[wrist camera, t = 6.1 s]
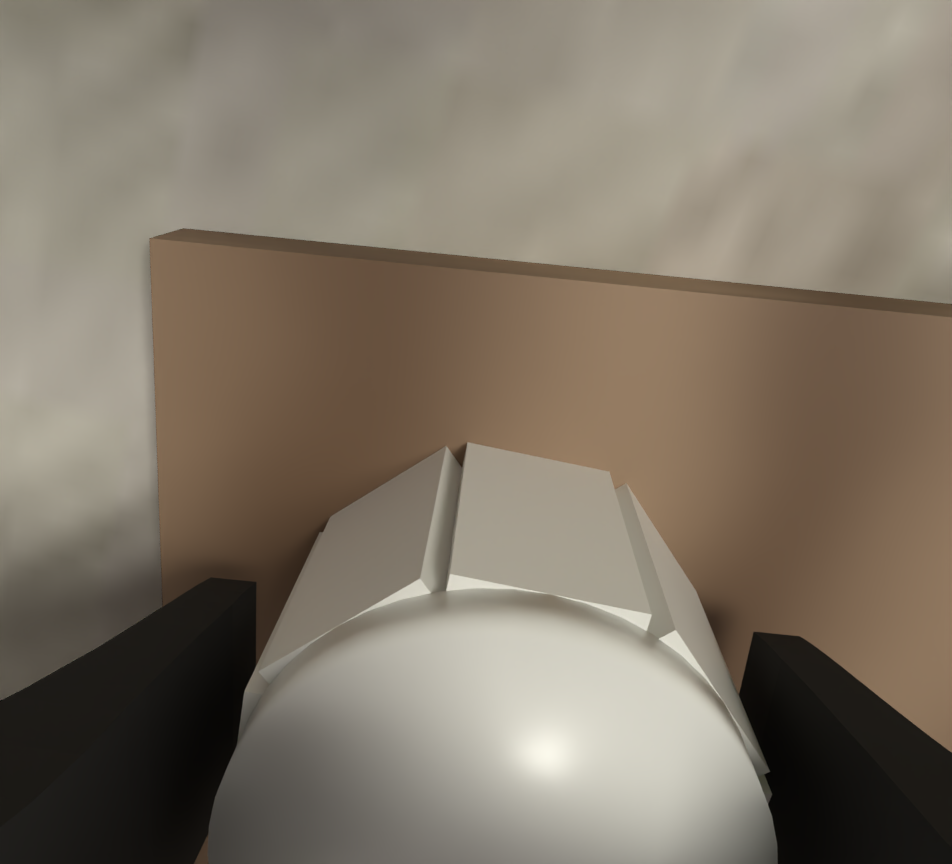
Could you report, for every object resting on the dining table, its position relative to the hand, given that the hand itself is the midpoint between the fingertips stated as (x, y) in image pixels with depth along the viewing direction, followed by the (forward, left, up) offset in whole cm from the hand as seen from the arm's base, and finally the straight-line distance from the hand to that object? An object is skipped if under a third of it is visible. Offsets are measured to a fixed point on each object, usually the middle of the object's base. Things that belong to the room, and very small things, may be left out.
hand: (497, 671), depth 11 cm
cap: (0, 0, -1) cm, 1 cm away
